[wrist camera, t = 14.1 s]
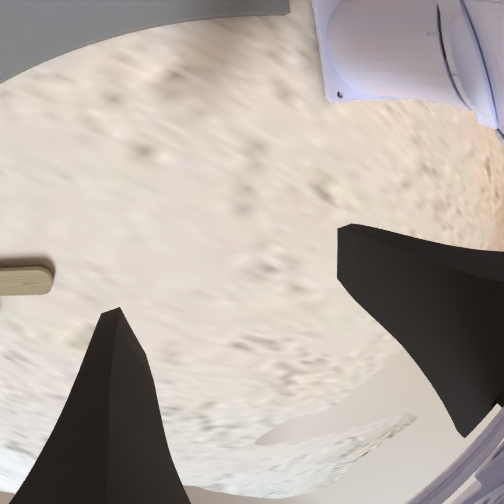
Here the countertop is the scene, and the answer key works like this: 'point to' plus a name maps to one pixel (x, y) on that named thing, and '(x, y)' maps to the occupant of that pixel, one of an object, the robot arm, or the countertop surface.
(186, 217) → the countertop surface
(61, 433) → the robot arm
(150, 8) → the mat
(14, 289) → the ice cream bar
